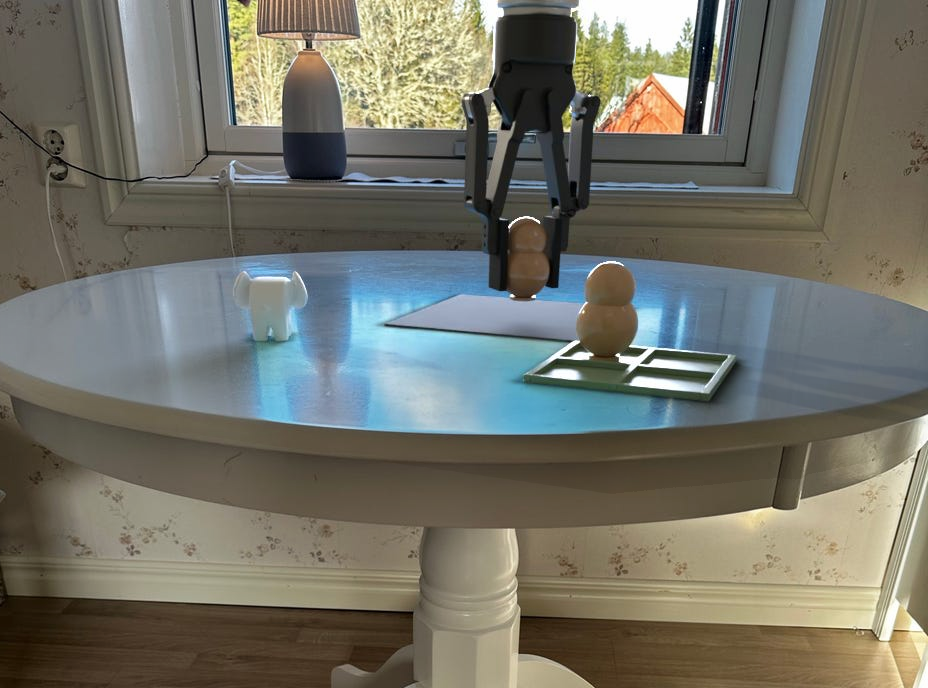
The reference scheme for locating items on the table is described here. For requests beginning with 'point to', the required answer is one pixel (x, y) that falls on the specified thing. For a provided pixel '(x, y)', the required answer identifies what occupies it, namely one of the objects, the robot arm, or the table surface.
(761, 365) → the table surface
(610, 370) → the green divided tray
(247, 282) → the elephant figurine
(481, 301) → the mat
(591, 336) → the snowman figurine
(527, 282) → the tan snowman shaped figurine
